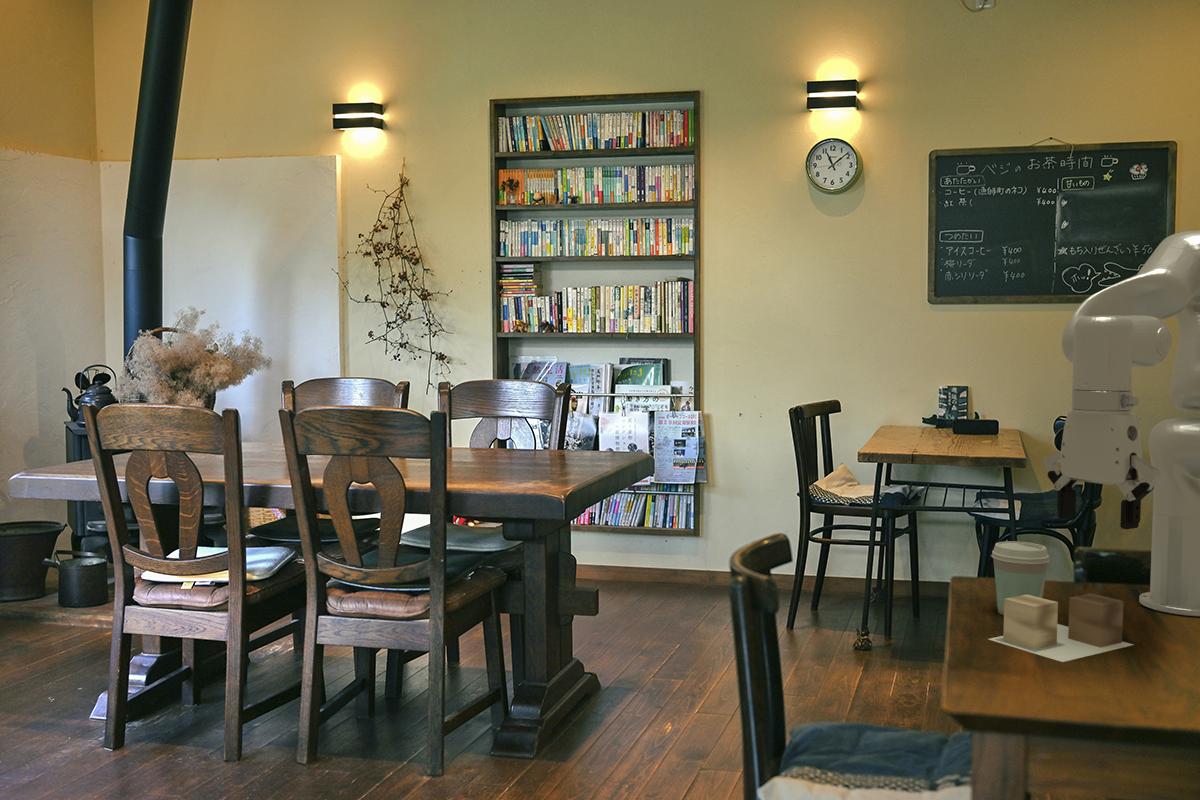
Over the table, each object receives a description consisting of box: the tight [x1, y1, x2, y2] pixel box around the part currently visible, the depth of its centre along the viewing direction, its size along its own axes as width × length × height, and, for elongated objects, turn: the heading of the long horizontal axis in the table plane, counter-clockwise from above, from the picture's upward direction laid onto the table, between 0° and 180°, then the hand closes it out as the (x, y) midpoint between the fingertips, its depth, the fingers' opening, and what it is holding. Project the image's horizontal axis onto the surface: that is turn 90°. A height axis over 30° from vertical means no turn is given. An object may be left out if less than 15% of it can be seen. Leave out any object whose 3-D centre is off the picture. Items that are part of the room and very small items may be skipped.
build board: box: [988, 623, 1134, 663], centre depth 143 cm, size 16×12×1 cm
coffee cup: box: [990, 540, 1051, 616], centre depth 158 cm, size 8×9×12 cm
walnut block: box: [1068, 593, 1124, 648], centre depth 144 cm, size 5×5×6 cm
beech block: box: [1002, 595, 1059, 649], centre depth 143 cm, size 5×5×6 cm
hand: (1097, 522), depth 143 cm, fingers open, 9 cm apart
